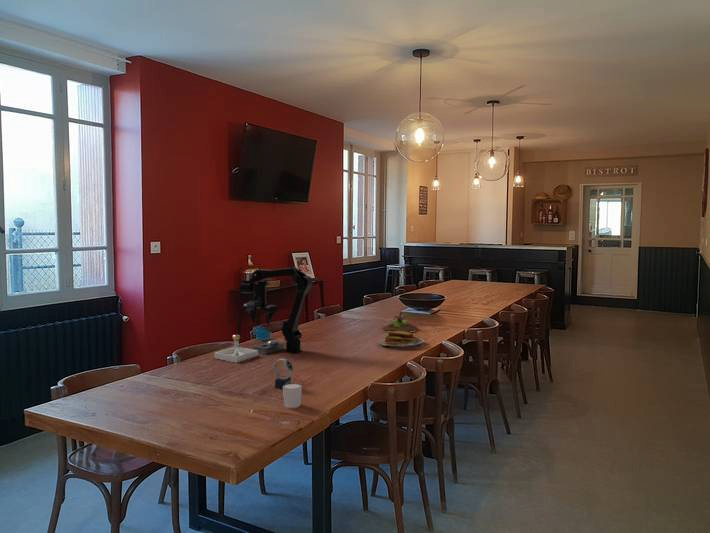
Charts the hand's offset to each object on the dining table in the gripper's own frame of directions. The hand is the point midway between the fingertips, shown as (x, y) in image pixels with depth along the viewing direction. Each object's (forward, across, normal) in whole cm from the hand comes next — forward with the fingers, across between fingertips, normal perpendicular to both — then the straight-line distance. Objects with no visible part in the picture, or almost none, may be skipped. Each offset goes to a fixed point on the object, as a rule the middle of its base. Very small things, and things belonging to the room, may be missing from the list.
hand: (260, 323), depth 277 cm
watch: (+13, +50, -44) cm, 68 cm away
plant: (+14, +39, +82) cm, 92 cm away
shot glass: (+13, +67, -60) cm, 91 cm away
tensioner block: (+13, +6, -1) cm, 14 cm away
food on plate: (+14, +58, +46) cm, 75 cm away
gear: (+13, -13, +16) cm, 25 cm away
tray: (+13, +2, -20) cm, 24 cm away
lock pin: (+12, +2, -20) cm, 23 cm away
